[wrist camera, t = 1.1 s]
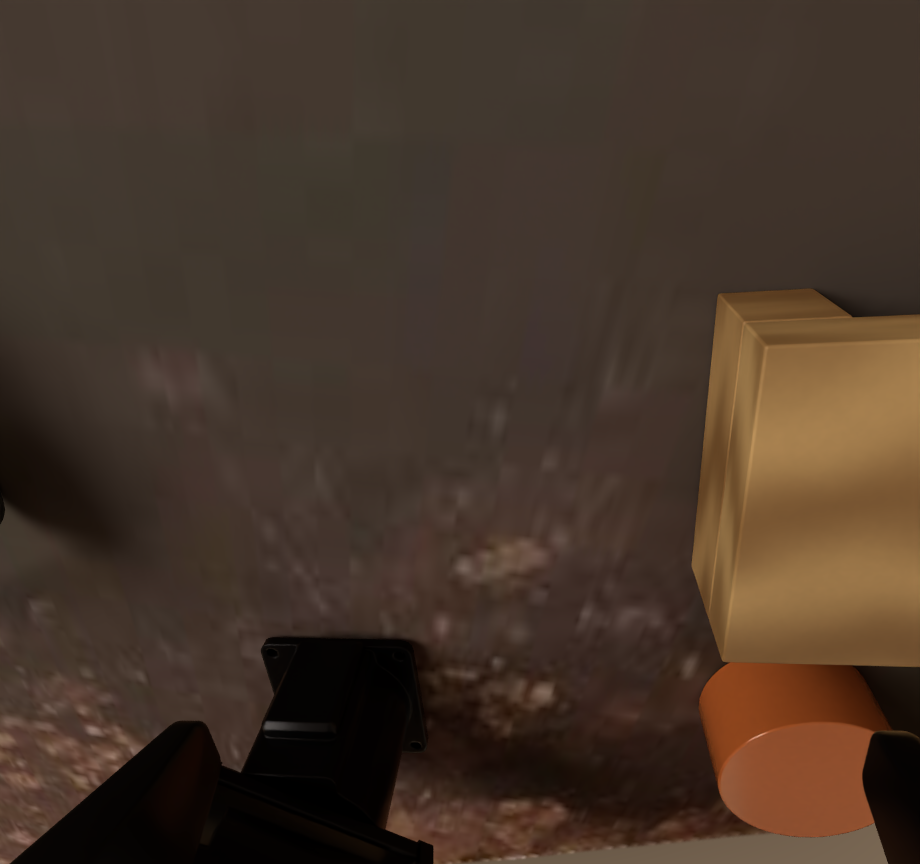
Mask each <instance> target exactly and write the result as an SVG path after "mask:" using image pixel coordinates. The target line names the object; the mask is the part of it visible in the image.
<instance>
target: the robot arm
mask: <svg viewBox="0 0 920 864" xmlns="http://www.w3.org/2000/svg"><path fill="white" fill-rule="evenodd" d="M399 652H402V653H403V654H402V653H399ZM261 654H262V657H263V660H264V664H265V667H266V670H267V673H268V676H269V679H270V683H271V686H272V689H273V692H274V697H273V699H272V701H271V704H270V706H269V708H268V710H267V712H266V715H265V717H264V719H263V721H262V726H261V729H260V731H259V733H258V735H257V737H256V740H255V742H254V744H253V746H252V749H251V751H250V753H249V755H248V757H247V760H246V762H245V764H244V766H243V769H242V771H241V773H240V772H238V771H235V770H233V769H230V768H227V767H225V766H222V762H221V760H220V755H219V753H218V750H217V748H216V746H215V743H214V741H213V739H212V736H211V734H210V732H209V729H208V727H207V725H206V724H205V723H203V722H202V721H177V722H175V723H173V724H172V725H170V726H169V727H168V728H166V729H165V730H164V731H163V732H162V733H161V734H160V735H158V736H157V737H156V738H155V739H154V740H153V741H151V742H150V743H149V744H148V745H147V746H146V747H144V748H143V749H142V750H141V751H140V752H139V753H138V754H136V755H135V756H134V757H133V758H132V759H131V760H129V761H128V762H127V763H126V764H125V765H124V766H122V767H121V768H120V769H119V770H118V771H117V772H116V773H114V774H113V775H112V776H111V777H110V778H109V779H107V780H106V781H105V782H104V783H103V784H102V785H100V786H99V787H98V788H97V789H96V790H95V791H93V792H92V793H91V794H90V795H89V796H88V797H87V798H85V799H84V800H83V801H82V802H81V803H80V804H78V805H77V806H76V807H75V808H74V809H73V810H71V811H70V812H69V813H68V814H67V815H66V816H65V817H63V818H62V819H61V820H60V821H59V822H58V823H56V824H55V825H54V826H53V827H52V828H51V829H49V830H48V831H47V832H46V833H45V834H44V835H42V836H41V837H40V838H39V839H38V840H37V841H36V842H34V843H33V844H32V845H31V846H30V847H29V848H27V849H26V850H25V851H24V852H23V853H22V854H20V855H19V856H18V857H17V858H16V859H15V860H14V861H12V862H11V863H10V864H433V845H431V844H428V843H426V842H423V841H420V840H419V841H418V842H415V841H413V840H410V839H408V838H405V837H403V836H400V835H397V834H395V833H392V832H390V831H387V830H385V828H386V824H387V819H388V815H389V810H390V805H391V801H392V796H393V791H394V787H395V782H396V778H397V773H398V768H399V764H400V759H401V755H402V752H408V753H421V752H424V751H425V750H426V749H427V743H428V734H427V728H426V722H425V716H424V710H423V704H422V698H421V692H420V686H419V680H418V674H417V668H416V662H415V656H414V650H413V647H412V645H410V644H409V643H408V642H406V641H402V640H372V639H326V638H280V637H272V638H268V639H266V641H265V643H264V645H263V647H262V648H261ZM862 782H863V788H864V792H865V795H866V798H867V801H868V804H869V807H870V810H871V813H872V816H873V819H874V822H875V825H876V828H877V831H878V834H879V837H880V840H881V843H882V846H883V849H884V852H885V855H886V858H887V861H888V864H920V738H919V737H917V736H916V735H914V734H912V733H910V732H907V731H876V732H874V733H873V734H872V736H871V738H870V742H869V746H868V750H867V754H866V759H865V763H864V767H863V771H862Z"/></svg>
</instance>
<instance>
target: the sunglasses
mask: <svg viewBox="0 0 920 864" xmlns="http://www.w3.org/2000/svg"><path fill="white" fill-rule="evenodd" d="M4 513H5V507H4V501H3V498H2V495H1V492H0V524H1V522H2V520H3V518H4Z"/></svg>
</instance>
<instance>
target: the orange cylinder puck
mask: <svg viewBox="0 0 920 864" xmlns="http://www.w3.org/2000/svg"><path fill="white" fill-rule="evenodd" d="M699 714H700V719H701V723H702V727H703V731H704V735H705V739H706V743H707V746H708V750H709V754H710V758H711V762H712V766H713V770H714V774H715V778H716V782H717V786H718V790H719V793H720V796H721V798H722V800H723V801H724V803H725V805H726V806H727V807H728V808H729V809H730V811H731V812H732V813H733V814H735V815H736V816H737V817H738V818H740V819H741V820H743V821H744V822H746V823H748V824H750V825H752V826H754V827H756V828H759V829H761V830H764V831H767V832H771V833H775V834H780V835H786V836H794V837H825V836H833V835H839V834H844V833H848V832H852V831H855V830H859V829H861V828H864V827H866V826H869V825H871V824H873V823H875V822H874V819H873V816H872V813H871V810H870V807H869V804H868V801H867V798H866V795H865V792H864V788H863V782H862V771H863V767H864V763H865V759H866V754H867V750H868V746H869V742H870V738H871V736H872V734H873V733H874V732H876V731H893V730H892V728H891V726H890V724H889V722H888V721H887V719H886V717H885V715H884V713H883V711H882V710H881V708H880V706H879V704H878V702H877V701H876V699H875V697H874V695H873V693H872V692H871V690H870V688H869V686H868V684H867V683H866V681H865V679H864V678H863V676H862V675H861V674H860V672H859V671H858V670H857V669H856V668H855V667H853V666H852V665H818V664H778V663H738V662H729V663H728V664H726V665H725V666H723V667H722V668H720V669H719V670H718V671H717V672H716V673H715V674H714V675H713V676H712V677H711V678H710V679H709V680H708V682H707V683H706V685H705V686H704V688H703V691H702V693H701V696H700V700H699Z"/></svg>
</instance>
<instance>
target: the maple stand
mask: <svg viewBox="0 0 920 864" xmlns="http://www.w3.org/2000/svg"><path fill="white" fill-rule="evenodd" d="M692 568H693V571H694V575H695V578H696V581H697V584H698V587H699V590H700V593H701V597H702V600H703V603H704V606H705V609H706V612H707V615H708V618H709V621H710V624H711V627H712V631H713V634H714V637H715V640H716V643H717V646H718V649H719V652H720V656H721V659H722V661H723V662H738V663H778V664H818V665H858V666H898V667H920V314H916V315H895V316H875V317H854V318H852V316H851V315H850V314H848V313H847V312H845V311H844V310H842V309H841V308H840V307H838V306H837V305H835V304H834V303H832V302H831V301H830V300H828V299H827V298H825V297H824V296H822V295H821V294H820V293H818V292H817V291H815V290H814V289H794V290H775V291H757V292H739V293H721V294H718V298H717V309H716V319H715V329H714V340H713V350H712V361H711V371H710V381H709V392H708V402H707V412H706V423H705V433H704V443H703V454H702V464H701V474H700V485H699V495H698V505H697V516H696V526H695V536H694V547H693V557H692Z"/></svg>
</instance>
